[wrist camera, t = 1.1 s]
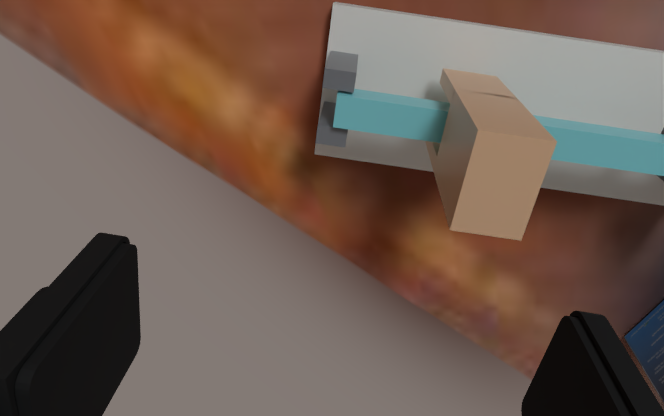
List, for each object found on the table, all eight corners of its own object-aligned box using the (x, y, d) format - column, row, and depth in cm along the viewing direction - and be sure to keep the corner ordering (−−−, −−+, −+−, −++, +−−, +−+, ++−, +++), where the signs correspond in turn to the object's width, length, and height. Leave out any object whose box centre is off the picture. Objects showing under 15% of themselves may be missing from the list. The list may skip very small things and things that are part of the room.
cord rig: (749, 63, 29) (852, 97, 23) (678, 201, 33) (748, 261, 27) (334, 1, 29) (324, 19, 23) (315, 148, 33) (303, 196, 27)
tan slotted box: (496, 76, 28) (557, 141, 19) (475, 150, 30) (521, 240, 21) (442, 68, 28) (478, 129, 19) (425, 142, 30) (449, 229, 21)
